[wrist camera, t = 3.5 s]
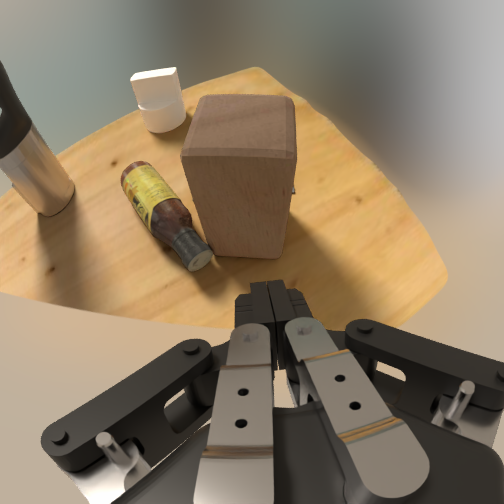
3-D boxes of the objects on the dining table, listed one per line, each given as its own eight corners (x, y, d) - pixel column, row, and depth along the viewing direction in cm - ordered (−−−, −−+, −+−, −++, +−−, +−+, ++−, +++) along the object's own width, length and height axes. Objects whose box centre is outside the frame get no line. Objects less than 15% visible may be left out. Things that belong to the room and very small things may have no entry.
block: (281, 262, 40) (298, 159, 22) (209, 257, 40) (174, 156, 22) (283, 202, 44) (295, 92, 26) (218, 199, 45) (198, 91, 27)
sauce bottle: (112, 176, 40) (170, 267, 33) (143, 151, 41) (212, 234, 34) (130, 197, 46) (188, 283, 39) (158, 175, 47) (224, 254, 40)
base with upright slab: (189, 105, 56) (180, 60, 45) (181, 131, 52) (169, 82, 41) (152, 109, 56) (139, 66, 46) (140, 134, 53) (123, 89, 42)
